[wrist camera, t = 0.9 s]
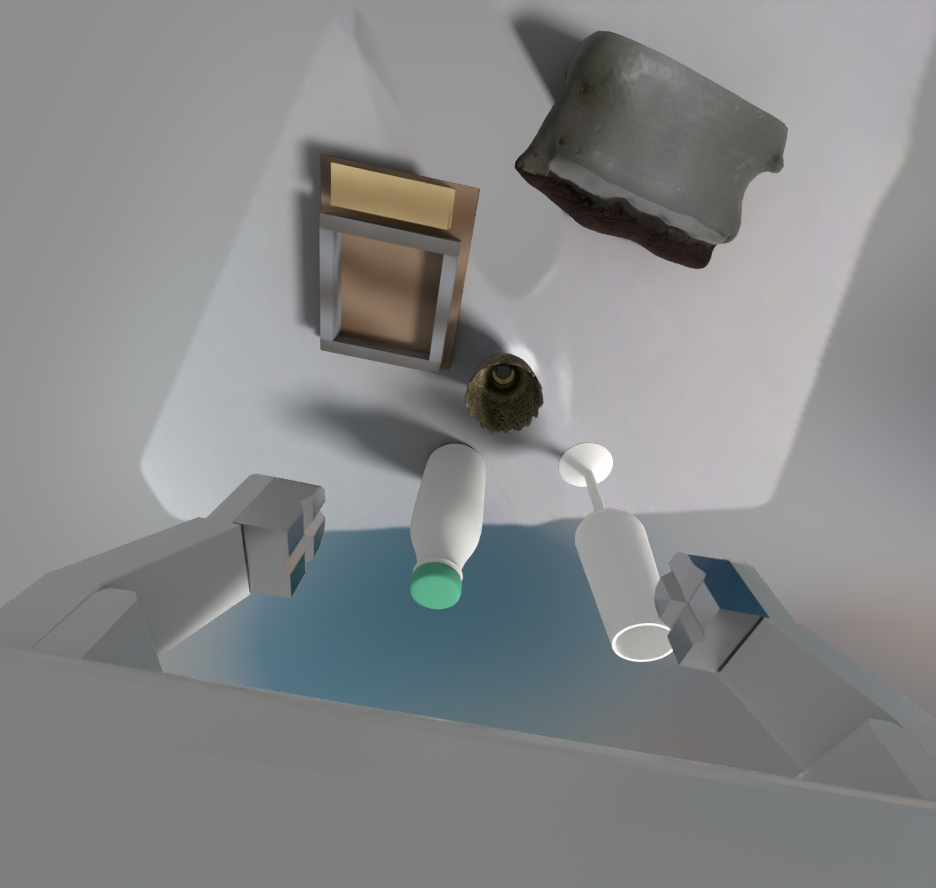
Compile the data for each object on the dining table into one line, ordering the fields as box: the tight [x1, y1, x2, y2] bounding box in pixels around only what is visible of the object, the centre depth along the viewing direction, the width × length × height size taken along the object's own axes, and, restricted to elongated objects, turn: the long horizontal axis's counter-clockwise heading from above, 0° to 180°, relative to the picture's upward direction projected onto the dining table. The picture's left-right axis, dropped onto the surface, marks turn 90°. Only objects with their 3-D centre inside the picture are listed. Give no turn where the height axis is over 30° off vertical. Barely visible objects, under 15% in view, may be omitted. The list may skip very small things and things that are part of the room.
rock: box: [515, 31, 788, 269], centre depth 31 cm, size 18×11×8 cm, turn 70°
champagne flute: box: [559, 443, 673, 662], centre depth 40 cm, size 7×7×24 cm
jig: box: [319, 154, 480, 374], centre depth 38 cm, size 17×14×4 cm
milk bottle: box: [410, 444, 486, 609], centre depth 43 cm, size 8×8×20 cm
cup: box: [465, 354, 543, 434], centre depth 41 cm, size 8×7×8 cm
